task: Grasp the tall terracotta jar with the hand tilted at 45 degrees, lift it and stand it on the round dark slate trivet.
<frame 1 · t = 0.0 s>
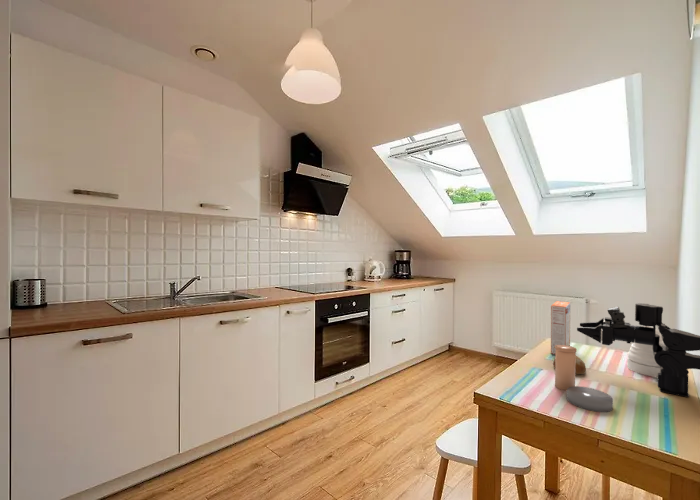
hand: (578, 326, 123), 17 cm above the table, tool horizontal, fingers open, 9 cm apart
honey pot: (649, 371, 125), on the table
bread roll: (568, 371, 125), on the table
jar: (564, 387, 110), on the table
cracker box: (560, 351, 148), on the table
trivet: (588, 402, 99), on the table
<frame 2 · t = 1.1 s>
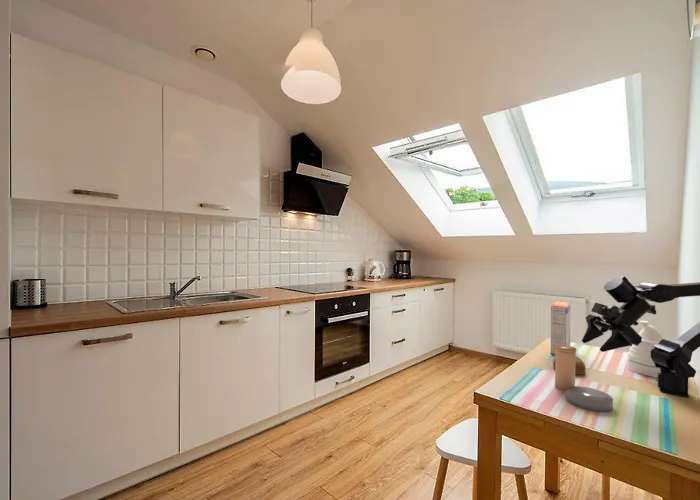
hand: (591, 346, 109), 14 cm above the table, tool tilted 45°, fingers open, 9 cm apart
nothing on the table moved.
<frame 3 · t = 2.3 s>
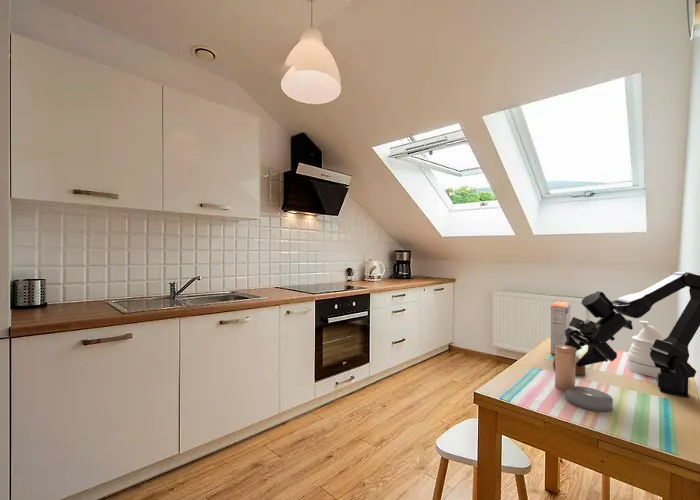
hand: (568, 360, 110), 9 cm above the table, tool tilted 45°, fingers open, 9 cm apart
nothing on the table moved.
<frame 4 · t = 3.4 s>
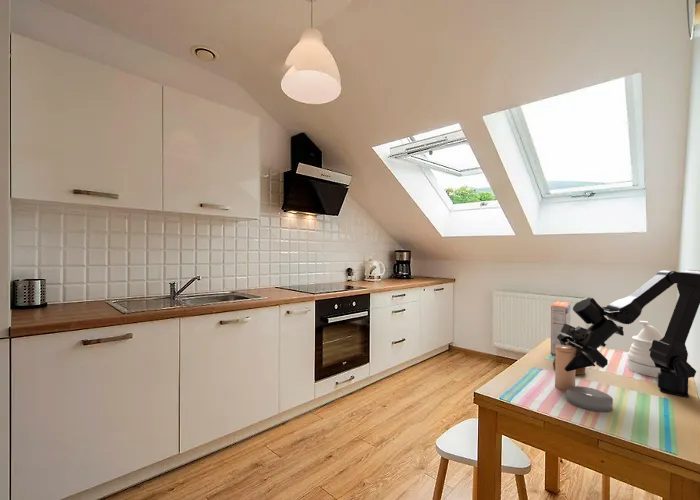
hand: (560, 366, 110), 7 cm above the table, tool tilted 45°, fingers closed on jar, 5 cm apart
jar: (564, 387, 110), on the table, touching gripper
everything else where it was.
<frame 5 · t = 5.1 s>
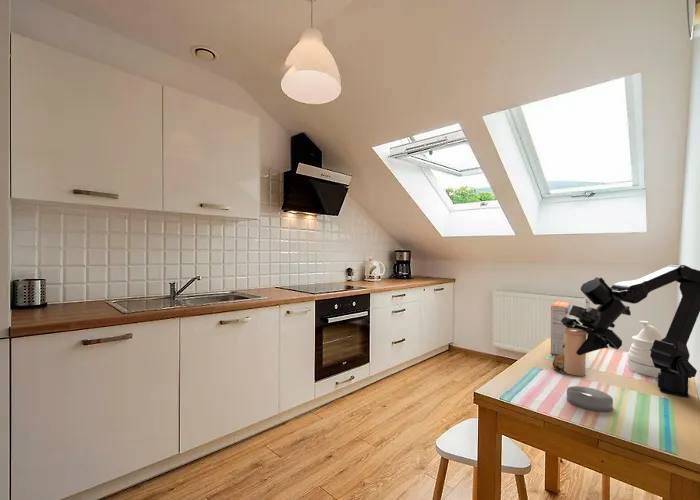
hand: (570, 351, 105), 13 cm above the table, tool tilted 45°, fingers closed on jar, 5 cm apart
jar: (574, 372, 105), point 7 cm above the table, touching gripper
everything else where it was.
when the fingers open (10 cm above the table, at t = 6.7 s): jar stays where it is, resting on trivet.
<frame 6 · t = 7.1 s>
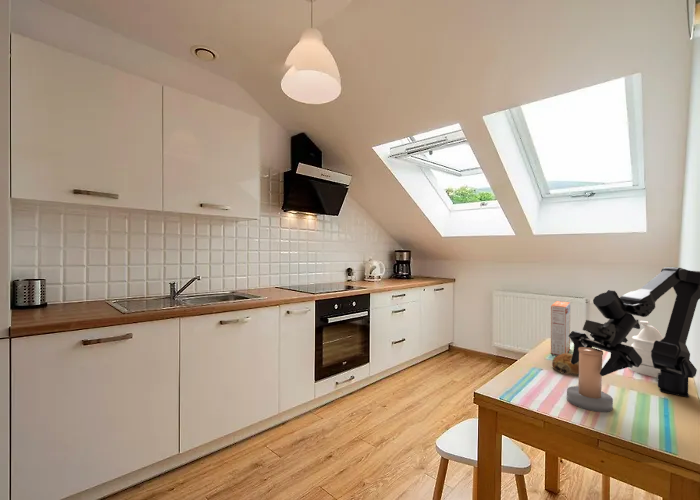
hand: (585, 368, 99), 10 cm above the table, tool tilted 45°, fingers open, 9 cm apart
jar: (589, 394, 99), point 3 cm above the table, touching trivet
everything else where it was.
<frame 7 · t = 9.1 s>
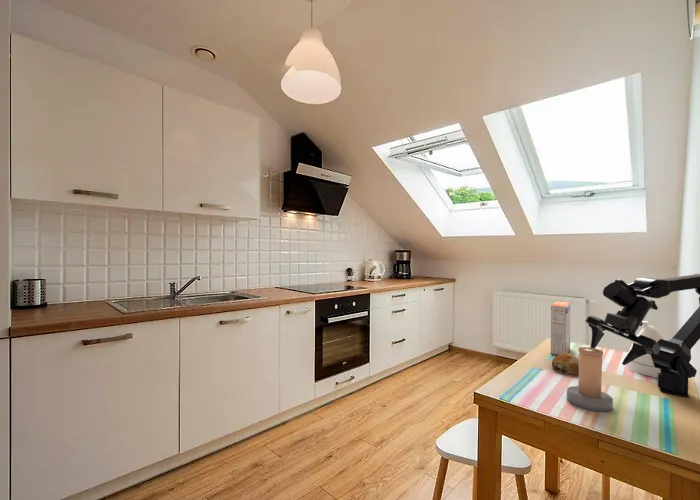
hand: (606, 356, 106), 11 cm above the table, tool tilted 30°, fingers open, 9 cm apart
nothing on the table moved.
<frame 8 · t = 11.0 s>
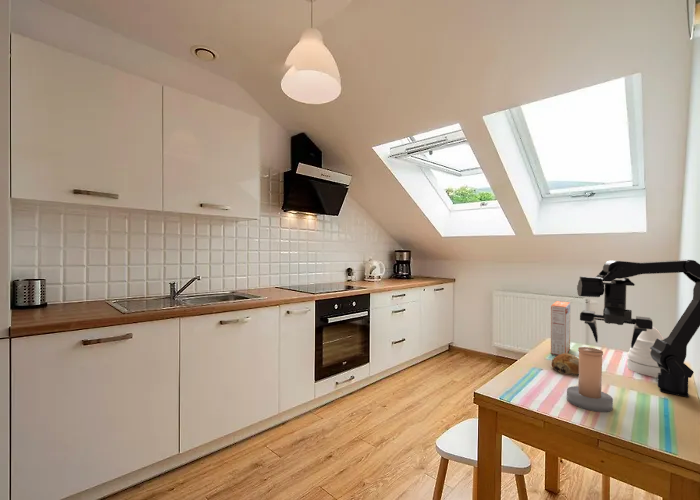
hand: (613, 345, 113), 13 cm above the table, tool pointing down, fingers open, 9 cm apart
nothing on the table moved.
at the end: jar inside the target area on the trivet (0.1 cm from its centre), point 2.5 cm above the trivet's base; jar tilted 0°; the gripper is holding nothing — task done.
